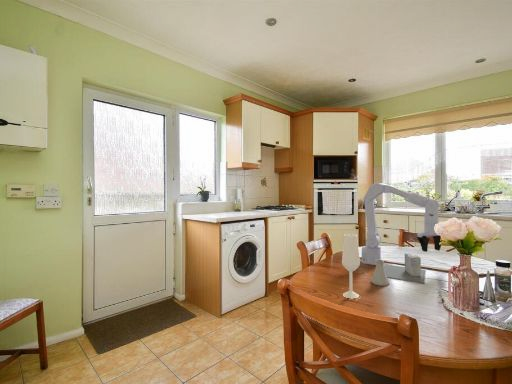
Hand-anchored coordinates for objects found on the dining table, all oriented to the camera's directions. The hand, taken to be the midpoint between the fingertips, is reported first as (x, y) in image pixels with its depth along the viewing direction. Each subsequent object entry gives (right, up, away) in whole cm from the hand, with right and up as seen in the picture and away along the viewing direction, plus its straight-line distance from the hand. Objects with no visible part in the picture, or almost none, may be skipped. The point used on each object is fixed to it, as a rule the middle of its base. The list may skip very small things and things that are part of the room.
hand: (431, 250), depth 128 cm
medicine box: (-11, -10, -4) cm, 16 cm away
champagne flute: (-49, -12, -26) cm, 57 cm away
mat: (-15, -11, -2) cm, 19 cm away
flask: (-32, -11, -14) cm, 36 cm away
